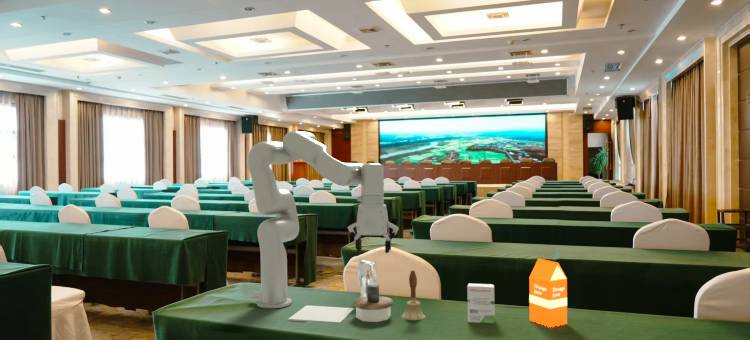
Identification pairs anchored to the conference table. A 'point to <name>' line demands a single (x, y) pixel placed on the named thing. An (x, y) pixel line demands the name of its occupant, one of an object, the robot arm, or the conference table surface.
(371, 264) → the beer glass
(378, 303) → the lid
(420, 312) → the hand bell
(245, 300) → the conference table surface
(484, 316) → the ink box
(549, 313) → the orange juice
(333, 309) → the mat
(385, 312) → the bowl
